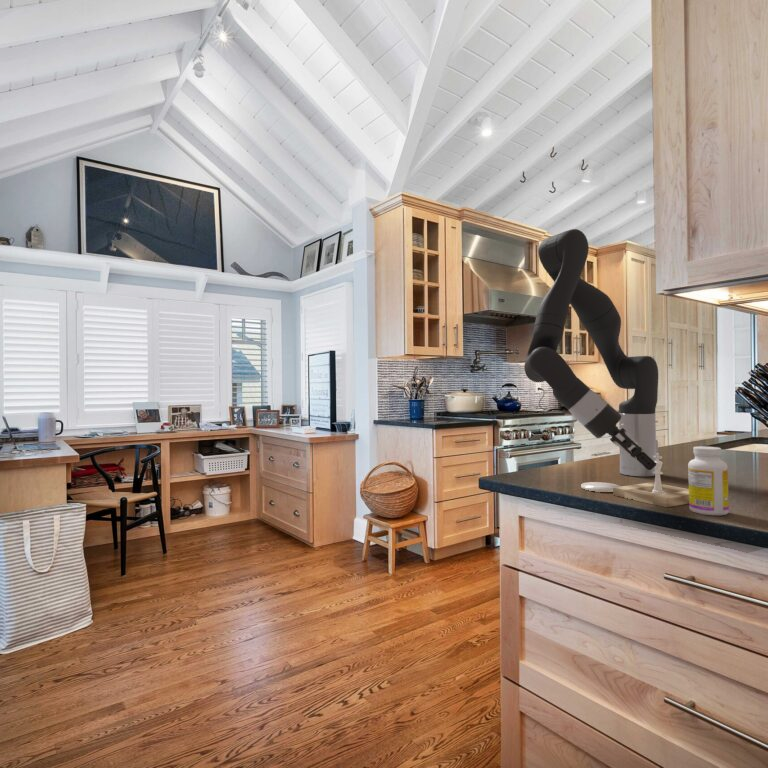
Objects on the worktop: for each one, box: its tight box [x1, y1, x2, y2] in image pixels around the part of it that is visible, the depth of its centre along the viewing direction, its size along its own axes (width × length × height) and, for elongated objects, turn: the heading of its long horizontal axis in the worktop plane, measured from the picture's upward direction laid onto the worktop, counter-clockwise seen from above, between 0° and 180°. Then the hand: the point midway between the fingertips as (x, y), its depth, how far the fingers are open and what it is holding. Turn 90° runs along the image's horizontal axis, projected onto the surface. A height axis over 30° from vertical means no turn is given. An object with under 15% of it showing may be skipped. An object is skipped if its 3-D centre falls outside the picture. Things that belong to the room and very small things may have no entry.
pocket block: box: [612, 481, 689, 508], centre depth 113 cm, size 13×13×2 cm
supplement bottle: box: [687, 445, 730, 517], centre depth 100 cm, size 7×7×13 cm
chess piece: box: [652, 452, 666, 494], centre depth 113 cm, size 5×5×10 cm
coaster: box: [580, 481, 621, 493], centre depth 124 cm, size 9×9×1 cm
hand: (649, 464), depth 114 cm, fingers open, 8 cm apart
